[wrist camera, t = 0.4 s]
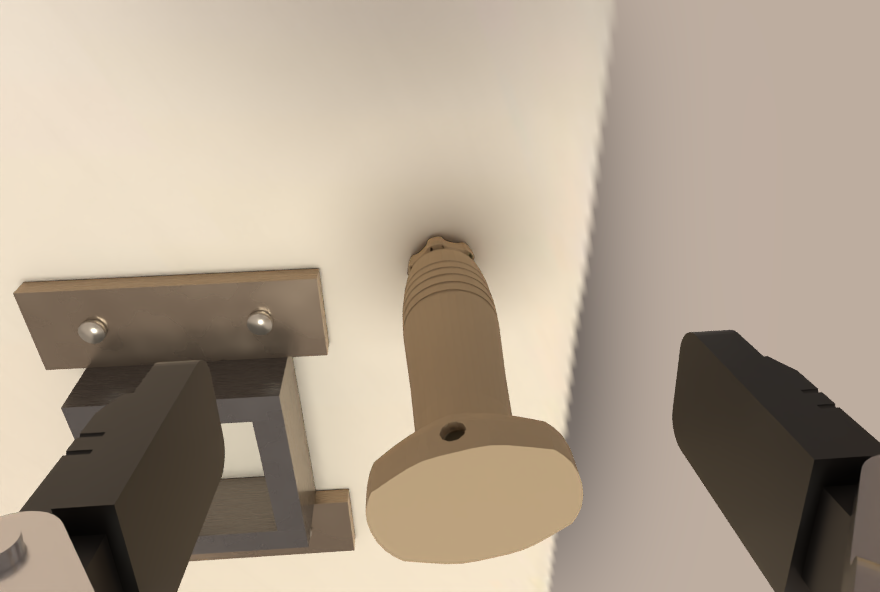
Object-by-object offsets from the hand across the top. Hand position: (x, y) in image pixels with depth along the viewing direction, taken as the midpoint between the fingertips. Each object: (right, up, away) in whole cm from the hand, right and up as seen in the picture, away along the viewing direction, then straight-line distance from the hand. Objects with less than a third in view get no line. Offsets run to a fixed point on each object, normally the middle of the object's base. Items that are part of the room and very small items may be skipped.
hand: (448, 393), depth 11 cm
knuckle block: (-13, -6, +26) cm, 29 cm away
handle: (0, +3, +21) cm, 21 cm away
